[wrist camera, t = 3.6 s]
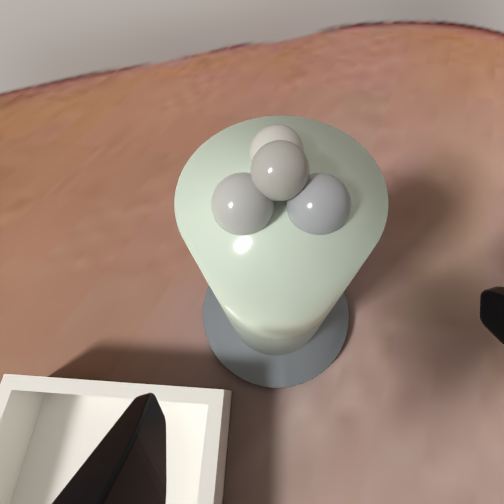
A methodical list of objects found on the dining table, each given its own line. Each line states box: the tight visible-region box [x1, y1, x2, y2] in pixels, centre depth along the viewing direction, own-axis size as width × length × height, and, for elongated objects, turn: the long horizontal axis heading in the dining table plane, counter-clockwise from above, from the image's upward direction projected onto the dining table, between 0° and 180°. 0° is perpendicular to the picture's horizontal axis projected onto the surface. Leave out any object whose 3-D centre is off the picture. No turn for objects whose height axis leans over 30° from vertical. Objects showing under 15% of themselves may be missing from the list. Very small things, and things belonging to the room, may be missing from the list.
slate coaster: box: [203, 286, 349, 388], centre depth 19 cm, size 9×9×1 cm
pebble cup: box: [174, 115, 389, 356], centre depth 13 cm, size 6×6×14 cm
